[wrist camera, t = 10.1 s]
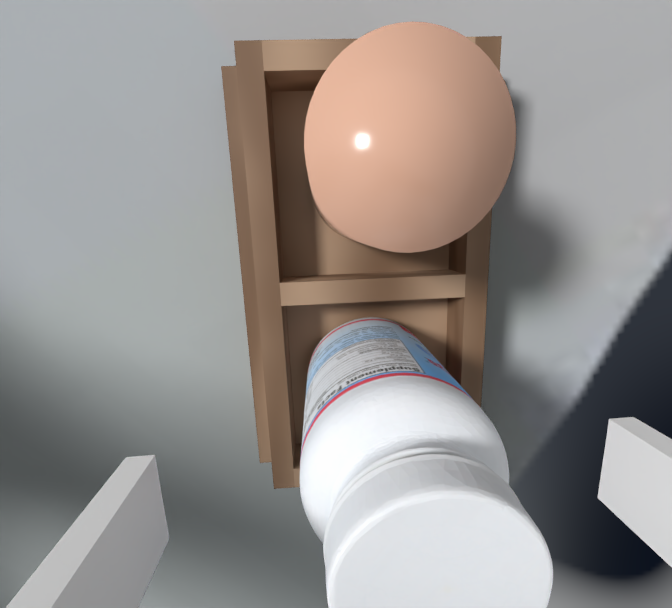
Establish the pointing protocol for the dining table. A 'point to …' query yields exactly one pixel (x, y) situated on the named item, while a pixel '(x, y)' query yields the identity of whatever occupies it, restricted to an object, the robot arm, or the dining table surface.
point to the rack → (327, 251)
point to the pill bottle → (410, 482)
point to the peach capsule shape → (409, 138)
